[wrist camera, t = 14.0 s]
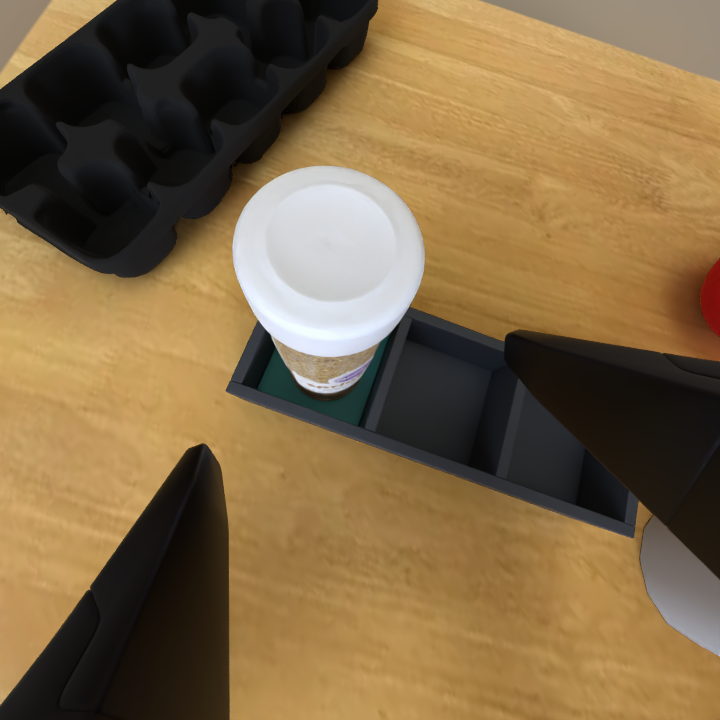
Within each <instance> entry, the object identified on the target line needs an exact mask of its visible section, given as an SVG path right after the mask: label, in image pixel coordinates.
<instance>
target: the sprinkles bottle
mask: <svg viewBox="0 0 720 720" xmlns="http://www.w3.org/2000/svg"><path fill="white" fill-rule="evenodd" d="M232 252H233V264H234V268H235V272H236V276H237V278H238V281H239V283H240V286H241V288H242V291H243V293H244V295H245V297H246V299H247V301H248V303H249V305H250V307H251V308H252V310H253V312H254V314H255V316H256V317H257V319H258V320H259V322H260V323H261V324H262V326H263V327H264V328H265V329H266V330H267V331H268V332H269V333H270V334H271V337H272V340H273V342H274V344H275V346H276V348H277V350H278V352H279V354H280V355H281V357H282V359H283V361H284V363H285V364H286V366H287V367H288V369H289V370H290V374H291V377H292V379H293V381H294V383H295V385H296V386H297V388H298V389H299V390H300V391H301V392H303V393H304V394H305V395H307V396H309V397H311V398H313V399H316V400H319V401H332V400H336V399H340V398H343V397H345V396H346V395H348V394H349V393H351V392H352V391H353V390H354V389H355V387H356V386H357V385H358V383H359V381H360V379H361V377H362V375H363V373H364V372H365V370H366V368H367V367H368V365H369V363H370V362H371V360H372V358H373V356H374V353H375V351H376V349H377V347H378V346H379V343H380V342H381V340H383V339H384V338H385V337H386V336H388V335H389V333H390V332H391V331H392V330H393V329H394V328H395V327H396V325H397V324H398V323H399V322H400V320H401V319H402V317H403V316H404V314H405V313H406V311H407V309H408V308H409V306H410V304H411V302H412V301H413V299H414V297H415V295H416V293H417V291H418V289H419V286H420V283H421V280H422V276H423V272H424V265H425V250H424V243H423V238H422V234H421V231H420V228H419V226H418V223H417V221H416V219H415V217H414V215H413V214H412V212H411V211H410V209H409V208H408V206H407V205H406V203H405V202H404V201H403V200H402V199H401V198H400V197H399V196H398V195H397V194H396V193H395V192H394V191H393V190H391V189H390V188H389V187H388V186H387V185H385V184H383V183H382V182H380V181H379V180H377V179H375V178H373V177H372V176H369V175H367V174H364V173H362V172H359V171H356V170H354V169H349V168H345V167H338V166H312V167H305V168H300V169H297V170H293V171H290V172H288V173H285V174H283V175H281V176H279V177H277V178H275V179H273V180H272V181H270V182H269V183H267V184H266V185H265V186H263V187H262V188H261V189H260V190H259V191H258V192H257V193H256V194H255V195H254V196H253V197H252V198H251V199H250V201H249V202H248V203H247V205H246V206H245V208H244V209H243V211H242V213H241V215H240V217H239V220H238V222H237V225H236V228H235V233H234V238H233V248H232Z"/></svg>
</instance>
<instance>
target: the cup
mask: <svg viewBox="0 0 720 720" xmlns="http://www.w3.org/2000/svg"><path fill="white" fill-rule="evenodd" d="M640 563H641V567H642V571H643V575H644V579H645V584H646V588H647V592H648V595H649V596H650V598H651V599H652V601H653V602H654V604H655V605H656V607H657V608H658V610H659V611H660V613H661V615H662V616H663V618H664V619H665V621H666V622H667V624H669V625H670V626H672V627H673V628H674V629H676V630H677V631H679V632H680V633H682V634H683V635H685V636H686V637H687V638H689V639H690V640H692V641H693V642H695V643H697V644H698V645H700V646H702V647H704V648H706V649H707V650H709V651H711V652H713V653H715V654H716V655H718V656H720V580H719V579H718V578H717V577H716V576H715V575H714V574H713V573H712V572H711V571H710V570H709V569H708V568H707V567H706V566H705V565H704V564H703V563H702V562H701V561H700V560H699V559H698V558H697V557H696V556H695V555H694V554H693V553H692V552H691V551H690V550H689V549H688V548H687V547H686V546H685V545H684V544H683V543H682V542H681V541H680V540H679V539H678V538H677V537H675V536H674V535H673V534H672V533H671V532H670V531H669V530H668V529H667V526H665V525H664V524H663V523H662V522H660V521H659V520H658V519H657V518H656V517H655V516H654V515H653V516H652V518H651V519H650V521H649V522H648V524H647V525H646V527H645V528H644V534H643V541H642V548H641V555H640Z"/></svg>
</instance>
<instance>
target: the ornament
mask: <svg viewBox="0 0 720 720" xmlns="http://www.w3.org/2000/svg"><path fill="white" fill-rule="evenodd" d="M700 297H701V310H702V314H703V316H704V318H705V321H706V322H707V324H708V325H709V327H710V328H711V329H712V330H713V331H714V332H715V333H716V334H717V335H718V336H719V337H720V258H719V260H718V261H717V262H716V263H715V264H714V266H713V267H712V268H711V270H710V271H709V272H708V274H707V277H706V279H705V281H704V283H703V286H702V289H701V296H700Z"/></svg>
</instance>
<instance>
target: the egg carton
mask: <svg viewBox="0 0 720 720" xmlns="http://www.w3.org/2000/svg"><path fill="white" fill-rule="evenodd" d="M377 9H378V0H117V1H115V2H114V3H113V4H111V5H110V6H109V7H108V8H106V9H105V10H104V11H102V12H101V13H100V14H98V15H97V16H96V17H95V18H93V19H92V20H91V21H89V22H88V23H87V24H86V25H84V26H83V27H82V28H80V29H79V30H78V31H76V32H75V33H74V34H73V35H71V36H70V37H69V38H67V39H66V40H65V41H64V42H62V43H61V44H59V45H58V46H57V47H55V48H54V49H53V50H51V51H50V52H49V53H47V54H46V55H45V56H43V57H42V58H41V59H40V60H38V61H37V62H36V63H34V64H33V65H32V66H30V67H29V68H28V69H26V70H25V71H24V72H23V73H21V74H20V75H18V76H17V77H16V78H15V79H13V80H12V81H11V82H9V83H8V84H7V85H5V86H4V87H3V88H1V89H0V208H1V209H3V210H4V211H5V213H6V215H7V213H9V214H11V215H12V216H13V217H15V218H16V220H17V222H18V223H19V224H20V225H22V226H23V227H25V228H26V229H28V230H29V231H31V232H33V233H34V234H36V235H38V236H39V237H41V238H42V239H44V240H45V241H47V242H49V243H50V244H52V245H53V246H55V247H56V248H58V249H59V250H60V251H62V252H63V253H65V254H66V255H68V256H70V257H71V258H73V259H75V260H76V261H78V262H80V263H82V264H83V265H85V266H87V267H89V268H91V269H93V270H95V271H98V272H101V273H106V274H115V275H117V276H119V277H123V278H126V277H128V278H129V277H138V276H140V275H143V274H146V273H148V272H150V271H151V270H152V269H153V268H154V267H155V266H157V265H158V264H159V263H160V262H161V261H162V260H163V259H164V258H165V257H166V256H167V255H168V254H169V253H170V252H171V250H172V249H173V247H174V246H175V244H176V240H177V233H176V231H175V229H174V227H173V225H174V224H175V223H176V222H177V221H178V220H179V219H180V218H181V217H184V218H192V219H196V218H200V217H203V216H205V215H207V214H209V213H210V212H211V211H212V210H213V209H215V207H216V206H217V205H218V204H219V203H220V201H221V199H222V198H223V197H224V195H225V193H226V192H227V191H228V189H229V187H230V184H231V181H232V175H233V172H232V165H231V164H232V163H233V162H235V161H236V162H237V163H239V162H240V163H247V164H249V163H250V164H251V163H253V162H255V161H258V160H259V159H260V158H262V155H263V154H264V153H265V152H266V150H267V149H268V148H269V147H270V146H271V145H272V144H273V142H274V141H275V139H276V138H277V137H278V135H279V133H280V129H281V119H282V115H283V111H285V112H288V113H297V112H299V111H302V110H305V109H306V108H307V107H308V106H309V105H310V104H311V103H312V102H313V101H314V100H315V99H316V98H317V97H318V96H319V95H320V93H321V92H322V91H323V89H324V88H325V83H326V74H327V67H329V68H338V67H339V68H343V67H345V66H347V65H348V64H349V63H350V61H351V60H352V59H353V58H354V57H355V56H356V55H358V54H359V53H360V52H361V51H362V49H363V46H364V42H365V39H366V36H367V31H368V26H369V21H370V20H371V19H372V17H373V16H374V15H375V14H376V12H377ZM230 165H231V166H230ZM236 165H237V164H236ZM236 165H235V164H234V166H236ZM230 168H231V169H230ZM230 170H231V171H230Z"/></svg>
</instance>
